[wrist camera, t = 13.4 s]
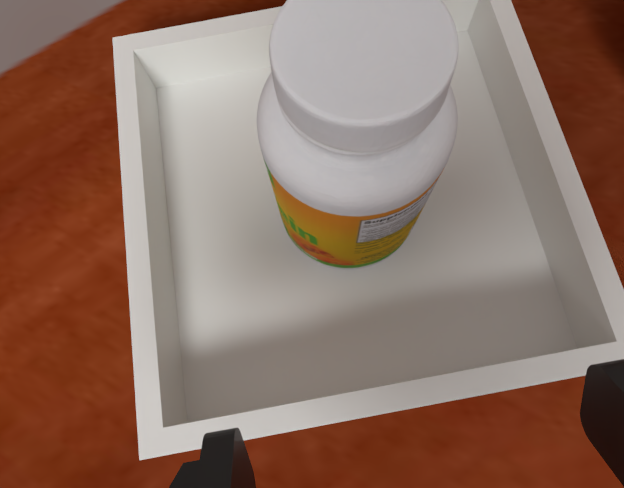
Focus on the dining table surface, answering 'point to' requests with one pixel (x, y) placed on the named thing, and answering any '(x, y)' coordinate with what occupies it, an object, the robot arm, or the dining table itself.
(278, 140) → the supplement bottle
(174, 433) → the tray
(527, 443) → the dining table surface
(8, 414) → the dining table surface
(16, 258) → the dining table surface
